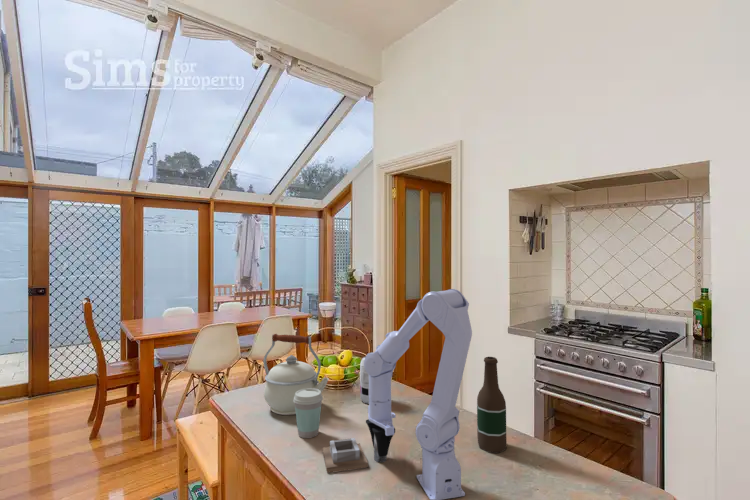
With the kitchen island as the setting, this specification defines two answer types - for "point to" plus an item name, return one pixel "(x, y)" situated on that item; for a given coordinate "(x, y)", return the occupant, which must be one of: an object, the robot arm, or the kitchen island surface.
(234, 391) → the kitchen island surface
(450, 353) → the robot arm
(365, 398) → the supplement can
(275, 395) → the kettle
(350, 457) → the block
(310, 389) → the coffee cup
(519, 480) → the kitchen island surface
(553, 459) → the kitchen island surface
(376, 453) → the shaft
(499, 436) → the beer bottle
